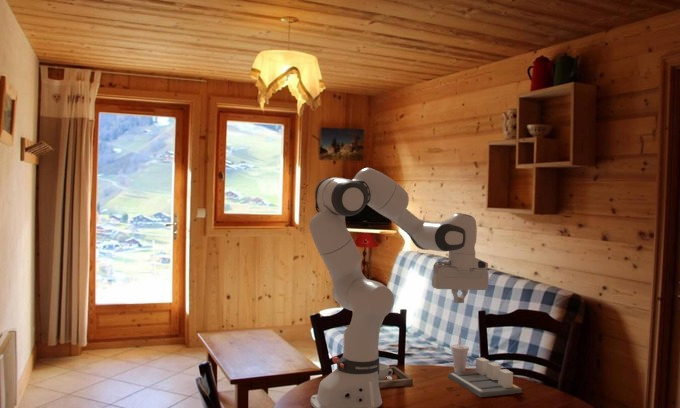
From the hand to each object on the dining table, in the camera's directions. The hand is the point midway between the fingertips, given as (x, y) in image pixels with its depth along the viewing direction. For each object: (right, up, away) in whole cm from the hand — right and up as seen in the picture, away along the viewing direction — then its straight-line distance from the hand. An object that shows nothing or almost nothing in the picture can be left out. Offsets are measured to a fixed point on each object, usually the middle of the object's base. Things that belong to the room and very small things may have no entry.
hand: (458, 302), depth 185 cm
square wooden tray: (-24, -29, +10) cm, 39 cm away
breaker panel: (+10, -30, +7) cm, 33 cm away
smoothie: (+5, -30, +21) cm, 37 cm away
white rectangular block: (+14, -28, +8) cm, 33 cm away
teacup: (-26, -30, +11) cm, 41 cm away
